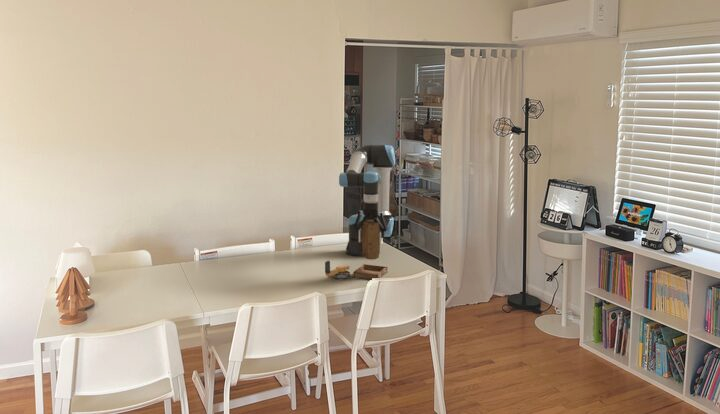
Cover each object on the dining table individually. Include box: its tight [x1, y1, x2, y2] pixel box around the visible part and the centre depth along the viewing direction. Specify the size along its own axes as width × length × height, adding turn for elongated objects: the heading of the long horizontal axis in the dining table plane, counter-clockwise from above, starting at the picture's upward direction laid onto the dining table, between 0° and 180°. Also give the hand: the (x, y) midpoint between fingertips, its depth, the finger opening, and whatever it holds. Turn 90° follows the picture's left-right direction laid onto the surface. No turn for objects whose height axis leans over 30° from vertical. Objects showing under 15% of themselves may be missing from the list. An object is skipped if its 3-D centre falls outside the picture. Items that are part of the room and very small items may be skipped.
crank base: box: [330, 270, 351, 280], centre depth 327 cm, size 10×10×3 cm
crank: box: [324, 260, 351, 277], centre depth 324 cm, size 17×5×8 cm, turn 140°
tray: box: [352, 263, 388, 280], centre depth 330 cm, size 15×14×3 cm
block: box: [361, 220, 381, 261], centre depth 327 cm, size 11×8×20 cm
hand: (370, 242), depth 327 cm, fingers closed on block, 11 cm apart
